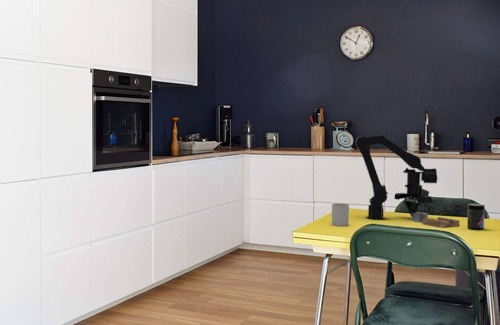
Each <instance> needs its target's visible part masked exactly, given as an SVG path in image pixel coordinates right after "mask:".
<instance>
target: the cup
mask: <svg viewBox="0 0 500 325" xmlns="http://www.w3.org/2000/svg"><path fill="white" fill-rule="evenodd" d="M349 211H350V204H348V203H332V204H331V225H332V226H334V227H348V226H349V223H350V221H349V217H350V216H349V215H350V212H349Z"/></svg>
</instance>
